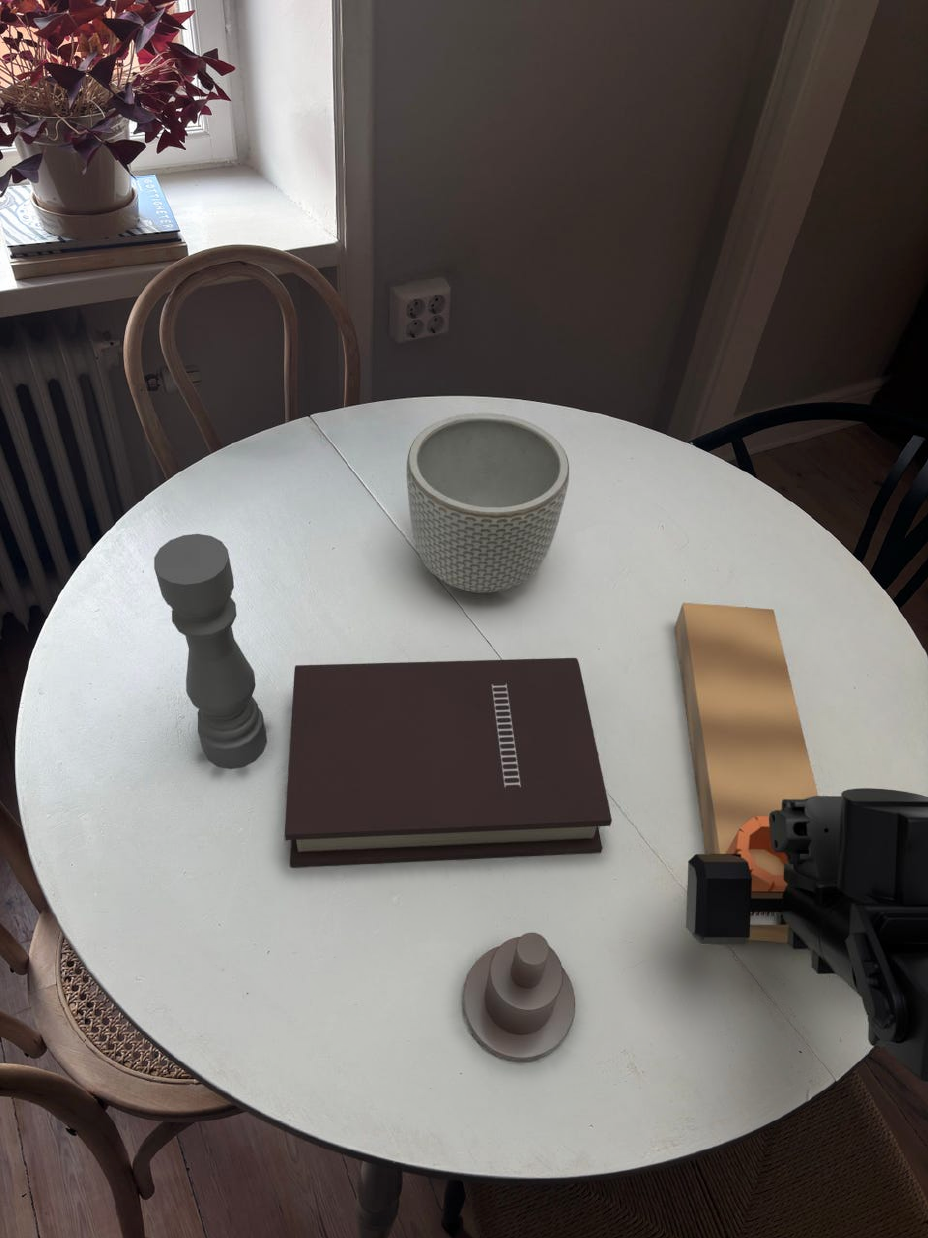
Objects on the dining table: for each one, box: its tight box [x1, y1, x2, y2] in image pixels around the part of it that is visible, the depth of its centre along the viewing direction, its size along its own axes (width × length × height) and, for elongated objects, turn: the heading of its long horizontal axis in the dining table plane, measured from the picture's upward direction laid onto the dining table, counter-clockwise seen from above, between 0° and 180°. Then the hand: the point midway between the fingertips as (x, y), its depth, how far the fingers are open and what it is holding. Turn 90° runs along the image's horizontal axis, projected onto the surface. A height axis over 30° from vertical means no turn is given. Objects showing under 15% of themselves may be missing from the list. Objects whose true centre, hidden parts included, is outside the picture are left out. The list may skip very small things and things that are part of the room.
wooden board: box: [674, 602, 819, 944], centre depth 88 cm, size 36×10×4 cm, turn 177°
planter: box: [406, 412, 570, 594], centre depth 101 cm, size 17×17×16 cm
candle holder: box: [153, 533, 268, 770], centre depth 79 cm, size 6×6×25 cm
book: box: [284, 657, 613, 868], centre depth 86 cm, size 28×20×6 cm
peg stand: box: [462, 932, 576, 1063], centre depth 69 cm, size 9×9×11 cm
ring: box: [726, 816, 788, 891], centre depth 76 cm, size 6×7×4 cm
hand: (770, 864), depth 76 cm, fingers open, 9 cm apart
